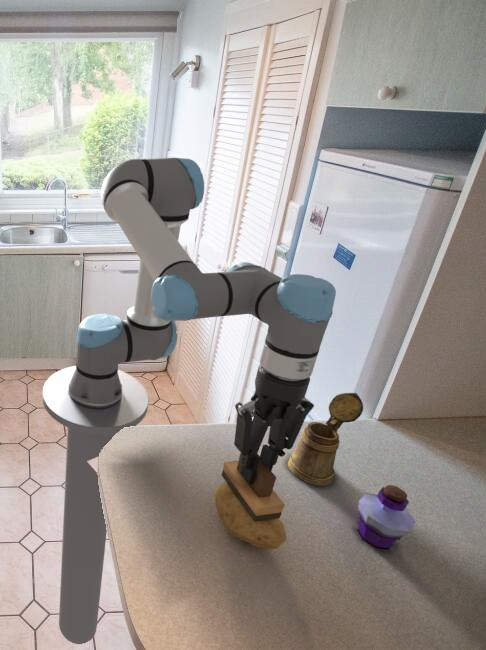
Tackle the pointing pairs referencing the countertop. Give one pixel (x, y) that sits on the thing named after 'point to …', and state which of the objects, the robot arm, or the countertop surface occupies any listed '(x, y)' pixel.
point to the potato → (247, 521)
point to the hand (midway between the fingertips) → (254, 477)
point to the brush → (254, 490)
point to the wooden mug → (324, 441)
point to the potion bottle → (384, 517)
